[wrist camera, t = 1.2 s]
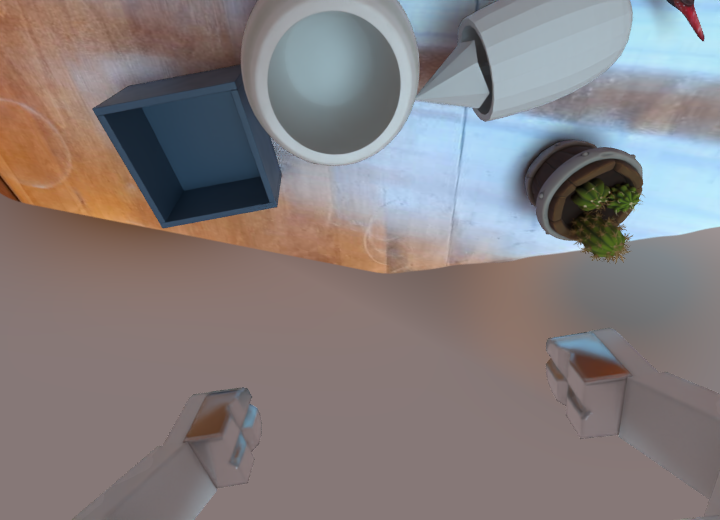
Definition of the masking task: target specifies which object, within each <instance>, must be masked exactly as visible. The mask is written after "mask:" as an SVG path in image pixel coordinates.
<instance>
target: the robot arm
mask: <svg viewBox="0 0 720 520" xmlns="http://www.w3.org/2000/svg"><path fill="white" fill-rule="evenodd" d="M546 351H547V353H548V354H549V356H550V357H551V358H550V360H549V361H548V362H547V363H546V375H547V379H548V383H549V386H550V388H551V391H552V393H553V395H554V396H555V398H556V400H557V401H558V402H560V403H562V404H563V405H565V406H566V416H567V418H568V419H569V421H570V423H571V424H572V426H573V427H574V429H575V431H576V432H577V434H578V436H579V437H580V439H584V438H594V437H603V436H613V435H619V437H620V438H621V439H623V440H624V441H626V442H627V443H628V444H630V445H631V446H633V447H635V448H636V449H637V450H639V451H640V452H641V453H643V454H644V455H646V456H647V457H649V458H650V459H652V460H653V461H654V462H656V463H657V464H659V465H660V466H662V467H663V468H664V469H666V470H667V471H669V472H670V473H672V474H673V475H675V476H676V477H677V478H679V479H680V480H682V481H683V482H685V483H686V484H688V485H689V486H690V487H692V488H693V489H695V490H696V491H698V492H699V493H701V494H702V495H703V496H705V497H706V498H708V499H709V502H708V505H707V508H706V511H705V514H704V517H697V518H687V519H678V520H720V394H719V393H717V392H714V391H712V390H709V389H707V388H704V387H702V386H699V385H697V384H695V383H692V382H690V381H687V380H685V379H682V378H680V377H677V376H675V375H673V374H670V373H668V372H661V373H659V372H658V371H657V370H656V369H655V368H654V367H653V366H652V365H651V364H650V363H649V362H648V361H646V359H645V358H643V357H642V356H641V355H640V354H639V353H638V352H637V351H636V350H635V349H634V348H633V347H632V346H631V345H630V344H629V343H628V342H627V341H626V340H625V339H624V338H623V337H622V336H621V335H620V334H619V333H618V332H617V331H616V330H614V329H612V328H605V329H599V330H594V331H589V332H584V333H578V334H572V335H566V336H560V337H554V338H548V340H547V343H546ZM251 398H252V396H251V394H250V392H249V390H248V389H247V388H244V387H242V388H236V389H228V390H220V391H213V392H209V393H201V394H194V395H192V396H191V397H190V398H189V399H188V401H187V402H186V404H185V406H184V408H183V410H182V412H181V413H180V415H179V417H178V419H177V421H176V423H175V424H174V426H173V428H172V430H171V432H170V433H169V435H168V437H167V439H166V441H165V442H164V444H163V446H158V447H156V448H155V449H154V450H153V451H152V452H150V453H149V454H148V455H147V456H146V457H145V458H143V459H142V460H141V461H140V462H139V463H137V465H135V466H134V467H133V468H132V469H130V470H129V471H128V472H127V473H126V474H125V475H124V476H122V477H121V478H120V479H119V480H118V481H116V482H115V483H114V484H113V485H112V486H111V487H109V488H108V489H107V490H106V491H105V492H104V493H102V494H101V495H100V496H99V497H98V498H97V499H95V500H94V501H93V502H92V503H91V504H90V505H88V506H87V507H86V508H85V509H84V510H82V511H81V512H80V513H79V514H78V515H77V516H75V517H74V518H73V519H72V520H194V519H195V518H196V517H197V516H198V514H199V513H200V512H201V510H202V509H203V508H204V506H205V505H206V504H207V502H208V501H209V500H210V499H211V497H212V496H213V495H214V493H215V492H216V491H217V489H216V488H222V487H228V486H234V485H240V484H245V483H248V481H249V477H250V473H251V470H252V467H253V463H254V460H255V459H254V457H253V455H252V451H253V450H254V449H255V448H256V446H257V445H258V444H259V442H260V438H261V434H262V421H261V416H260V413H259V411H258V409H257V408H256V407H254V406H253V405H251V404H250V401H251Z"/></svg>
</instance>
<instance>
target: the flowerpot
mask: <svg viewBox="0 0 720 520" xmlns="http://www.w3.org/2000/svg"><path fill="white" fill-rule="evenodd" d="M642 185H643V179H642V167H641V165H640V164H639V162H638V161H637V160H636V159H635V155H630V154H628V153H626V152H624V151H621V150H618V149H614V148H608V147H602V148H597V147H596V146H595V145H593V144H591V143H588V142H584V141H578V140H567V141H562V142H558V143H557V144H554V145H552V146H551V147H549V148H547V149H545V150H544V151H542V152H541V153H540V155H539V156H538V157H537V158H535V160H534V161H533V162H532V164H531V165H530V168H529V170H528V172H527V174H526V178H525V189H526V193H527V196H528V198H529V200H530V202H531V204H532V205H534V206H535V207H536V215H537V218H538V221H539V223H540V225H541V227H542V228H543V229H544V230H545V231H546V234H550V235H552V236H554V237H556V238H559V239H562V240H569V241H577V242H580V245H581V244H582V243H583V244H584V246H585V248H584V249H582V250H584V251H582V252H585V251H587V252H589V251H590V252H592V253H593V254H594V256H595V257H596V258H597V257H606V259H607V260H608V258H609V260H610V259H611V258H615V259H616V257H617V258H619V257H618V256H620V258H622V256H621V255H620V254H619V253H622V252H623V251H625V250H626V249H625V248H624V245H625V244H624V243H625V240H626V239H627V238H626V237H627V236H628V235H627V236H626V237H625V236H623V235H622V233H621V232H623V231H620V230H623V229H622V227H621V229H620V226H619V227H618V228H617V226H618V225H619V223H622V222H623V221H624V220H625V219H626V218H627V216H628V215H629V214H630V212H631V211H633V209H634V206H635V205H636V204H638V202H639V201H641V200H639V197H640V195H641V192H642ZM642 195H643V194H642ZM643 196H644V195H643ZM644 197H645V196H644ZM640 199H641V198H640ZM634 210H635V209H634ZM629 216H630V215H629ZM623 225H624V224H623ZM621 226H622V225H621ZM623 227H624V226H623ZM624 228H625V227H624ZM624 230H626V229H624ZM624 234H625V235H626V233H624ZM632 236H633V235H632ZM632 236H631V237H632ZM629 238H630V237H628V239H627V240H629ZM630 239H631V238H630ZM627 240H626V242H628V241H627ZM577 242H576V243H577ZM576 243H575V244H576ZM578 244H579V243H578ZM578 244H577V245H578ZM626 246H627V245H626ZM580 248H581V247H580ZM623 249H624V250H623ZM622 250H623V251H622ZM629 252H630V251H629ZM626 253H628V251H627V252H626ZM624 254H625V253H624ZM594 256H593V257H594ZM613 256H616V257H613ZM591 257H592V256H591ZM595 257H594V258H595ZM623 258H624V257H623ZM606 259H605V260H606ZM624 259H625V258H624ZM599 260H600V259H599ZM612 260H613V261H614V259H612ZM592 261H593V259H592ZM622 261H623V259H622ZM608 262H609V261H608ZM616 262H617V259H616Z"/></svg>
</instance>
